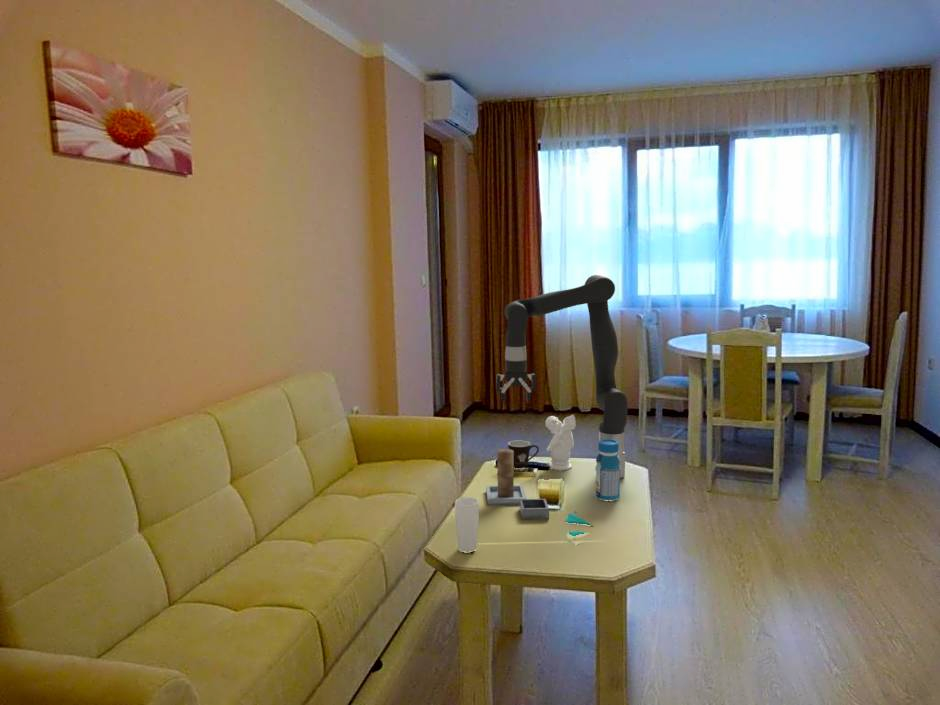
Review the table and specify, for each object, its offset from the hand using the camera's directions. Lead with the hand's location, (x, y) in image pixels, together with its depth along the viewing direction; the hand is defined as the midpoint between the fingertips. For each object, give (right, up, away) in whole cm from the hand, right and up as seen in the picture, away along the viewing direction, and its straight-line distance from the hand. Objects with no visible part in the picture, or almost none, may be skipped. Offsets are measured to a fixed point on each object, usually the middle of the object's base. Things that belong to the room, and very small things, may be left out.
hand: (515, 402), depth 251 cm
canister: (-4, -31, -11) cm, 34 cm away
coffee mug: (+4, -27, +20) cm, 34 cm away
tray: (-4, -32, -11) cm, 34 cm away
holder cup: (+4, -35, -25) cm, 43 cm away
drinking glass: (-17, -39, -50) cm, 66 cm away
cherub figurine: (+20, -27, +22) cm, 40 cm away
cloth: (+17, -37, -36) cm, 54 cm away
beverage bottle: (+31, -32, -11) cm, 46 cm away
